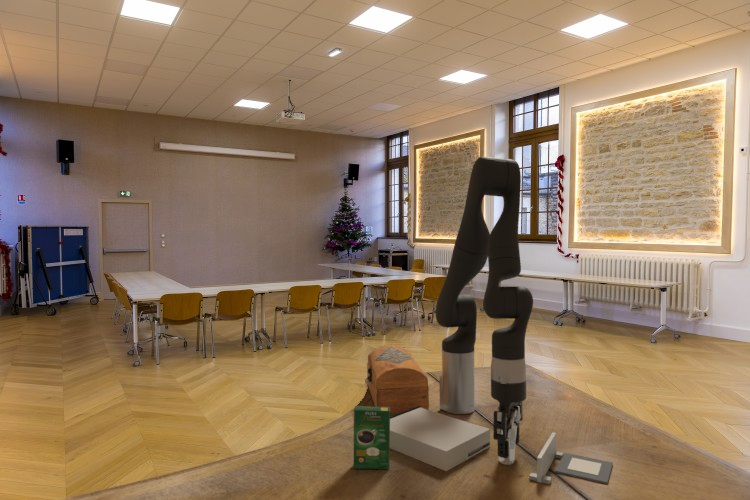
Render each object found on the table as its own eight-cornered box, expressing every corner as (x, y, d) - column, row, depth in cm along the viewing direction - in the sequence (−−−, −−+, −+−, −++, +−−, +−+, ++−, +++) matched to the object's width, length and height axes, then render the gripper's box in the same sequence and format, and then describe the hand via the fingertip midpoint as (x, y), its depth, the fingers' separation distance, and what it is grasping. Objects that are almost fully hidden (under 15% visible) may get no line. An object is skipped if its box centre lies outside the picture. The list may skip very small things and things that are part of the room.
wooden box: (364, 385, 168) (363, 344, 168) (412, 383, 170) (412, 343, 169) (371, 417, 138) (370, 368, 138) (429, 414, 140) (429, 366, 139)
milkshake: (521, 467, 107) (521, 421, 106) (496, 465, 108) (496, 420, 108) (520, 458, 111) (519, 414, 111) (495, 456, 112) (495, 412, 112)
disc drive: (418, 423, 134) (418, 405, 134) (490, 448, 118) (490, 427, 118) (372, 443, 121) (371, 423, 121) (445, 473, 105) (445, 450, 105)
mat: (555, 472, 104) (555, 470, 104) (564, 454, 113) (564, 452, 113) (607, 484, 99) (607, 481, 99) (612, 464, 108) (612, 462, 108)
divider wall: (529, 480, 101) (529, 455, 101) (545, 452, 114) (545, 430, 114) (549, 484, 99) (549, 460, 99) (563, 456, 112) (563, 434, 112)
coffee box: (391, 464, 109) (390, 405, 109) (390, 470, 106) (389, 410, 106) (354, 463, 110) (353, 405, 109) (353, 469, 107) (352, 409, 106)
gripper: (501, 367, 117) (501, 435, 117) (481, 382, 105) (481, 458, 105) (533, 371, 113) (533, 441, 114) (516, 387, 101) (517, 466, 101)
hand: (508, 449), depth 109 cm, fingers open, 8 cm apart
